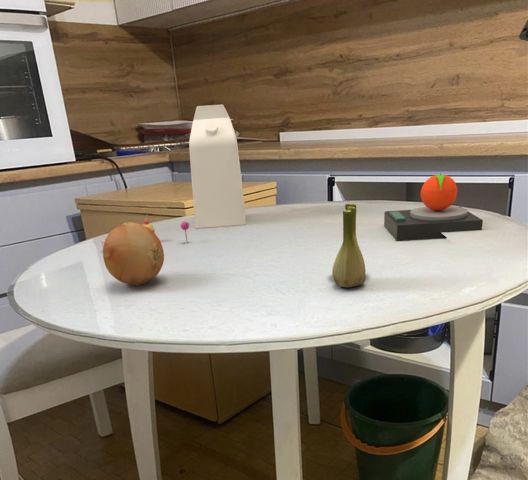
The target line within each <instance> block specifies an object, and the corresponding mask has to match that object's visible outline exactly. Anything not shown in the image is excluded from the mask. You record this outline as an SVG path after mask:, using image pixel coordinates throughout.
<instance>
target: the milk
mask: <svg viewBox="0 0 528 480" xmlns="http://www.w3.org/2000/svg"><path fill="white" fill-rule="evenodd" d="M188 146H189V147H188V148H189V163H190V164H189V165H190V177H191V191H192V192H191V193H192V204H193V219H194V220H193V221H194V229H205V228H217V227H218V228H219V227H233V226H246V225H247V213H246V212H247V211H246V204H245V203H246V202H245V195H244V188H243V181H242V180H243V178H242V172H241V163H240V154H239V147H238V139H237V134H236V131H235V129H234V126H233V122H232V120H231V117H230V115H229V113H228V111H227V109H226V107H225V106H224V104H211V105H210V104H209V105H197V106H196V107H195V112H194V116H193V120H192V125H191V128H190V134H189V142H188Z"/></svg>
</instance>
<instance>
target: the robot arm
mask: <svg viewBox="0 0 528 480" xmlns="http://www.w3.org/2000/svg"><path fill="white" fill-rule="evenodd" d="M519 40H521V41H525V42H528V19H527V20H526V22H525V24H524V25H523V28H522V29H521V31H520V33H519Z"/></svg>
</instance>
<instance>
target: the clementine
mask: <svg viewBox="0 0 528 480" xmlns="http://www.w3.org/2000/svg"><path fill="white" fill-rule="evenodd" d="M457 196H458V186H457V183H456V181H455V179H453V178H452V177H450V176H449V175H447V174H442V173H439V174H435V175H432V176H430V177H429V178H427V179H426V180H425V182H424V183H423V184H422V187H421V190H420V198H421V201H422V203H423V205H424V207H428V208H429V209H431V210H434V211H441V210H444V209H446V208H448V207H449V206H453V204H454V203H455V201H456V199H457Z"/></svg>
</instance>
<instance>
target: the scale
mask: <svg viewBox="0 0 528 480" xmlns="http://www.w3.org/2000/svg"><path fill="white" fill-rule="evenodd" d="M383 218H384V219H383V226H384V227H385V228H386V229H387V231H388V232H389V233H390V235H391V236H392V237H393V238H394V239H395V240H396V242H402V241H416V240H433V239H447V238H448V237H447V236H446V235H445V234H444V233H457V232H458V233H459V232H474V231H476V232H477V231H483V223H484V220H483V219H482V218H480V217H479V216H477V215H475V214H473V213H472V212H470V211H468V209H466V208H464V207H463V206H454V205H451V206H449V207H448V208H446V209H444V210H441V211H434V210H431V209H429V208H428V207H426V206H420V207H415V208H413V209H402V210H401V209H399V210H385V211H384V217H383Z"/></svg>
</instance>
